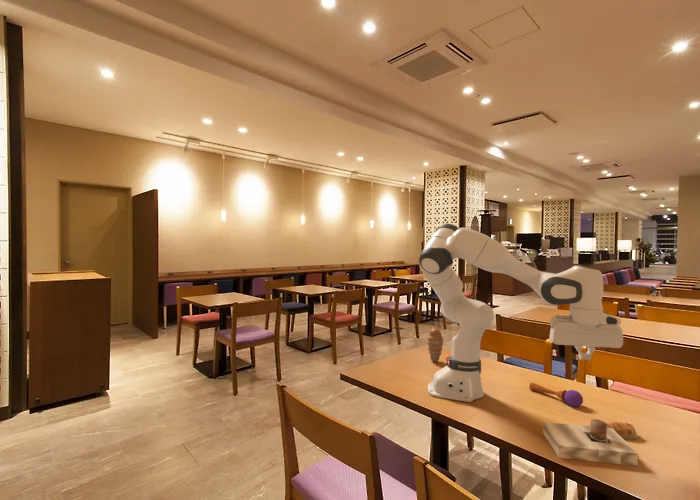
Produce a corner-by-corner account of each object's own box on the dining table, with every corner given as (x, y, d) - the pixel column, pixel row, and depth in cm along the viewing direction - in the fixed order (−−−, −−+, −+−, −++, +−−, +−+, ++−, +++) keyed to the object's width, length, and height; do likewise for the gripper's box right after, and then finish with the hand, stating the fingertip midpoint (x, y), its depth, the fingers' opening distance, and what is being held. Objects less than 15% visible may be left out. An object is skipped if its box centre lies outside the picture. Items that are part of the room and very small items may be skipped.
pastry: (607, 439, 114) (607, 427, 114) (595, 428, 121) (595, 417, 121) (639, 441, 113) (639, 429, 113) (625, 430, 120) (626, 418, 120)
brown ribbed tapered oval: (446, 363, 184) (446, 328, 184) (431, 365, 183) (432, 329, 182) (437, 358, 193) (437, 324, 193) (424, 359, 191) (424, 325, 191)
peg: (593, 451, 107) (593, 424, 107) (587, 444, 111) (588, 418, 111) (608, 453, 106) (609, 426, 106) (602, 446, 110) (603, 420, 110)
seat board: (558, 457, 104) (559, 445, 104) (542, 432, 118) (542, 421, 118) (637, 465, 100) (637, 453, 100) (611, 438, 114) (611, 428, 114)
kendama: (536, 379, 154) (586, 392, 136) (535, 393, 153) (586, 408, 136) (527, 379, 151) (577, 392, 134) (527, 393, 150) (577, 409, 133)
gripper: (554, 316, 114) (553, 360, 114) (626, 320, 110) (625, 364, 111) (546, 312, 120) (545, 354, 120) (615, 315, 116) (614, 358, 117)
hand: (584, 359), depth 115 cm, fingers closed
